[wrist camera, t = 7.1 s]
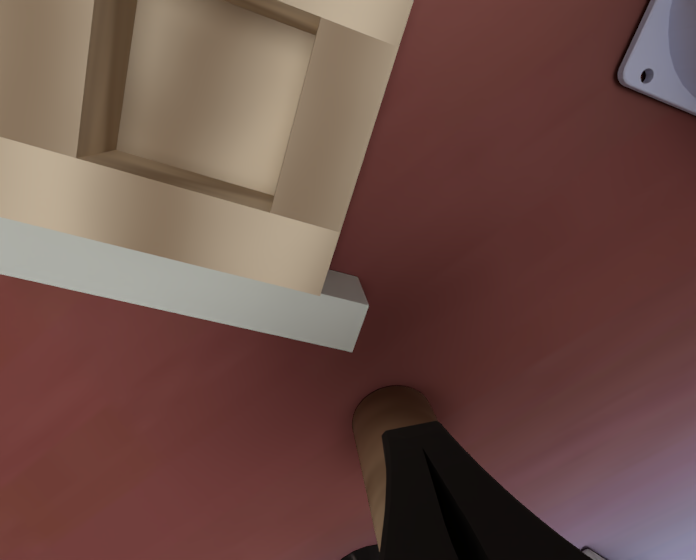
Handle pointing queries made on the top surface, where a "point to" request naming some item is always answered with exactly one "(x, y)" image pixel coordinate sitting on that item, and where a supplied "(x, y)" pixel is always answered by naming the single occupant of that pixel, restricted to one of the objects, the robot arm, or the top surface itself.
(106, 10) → the socket block
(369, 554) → the deodorant
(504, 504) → the robot arm
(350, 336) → the backstop wall
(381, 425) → the oak dowel
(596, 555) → the skincare box
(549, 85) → the top surface
